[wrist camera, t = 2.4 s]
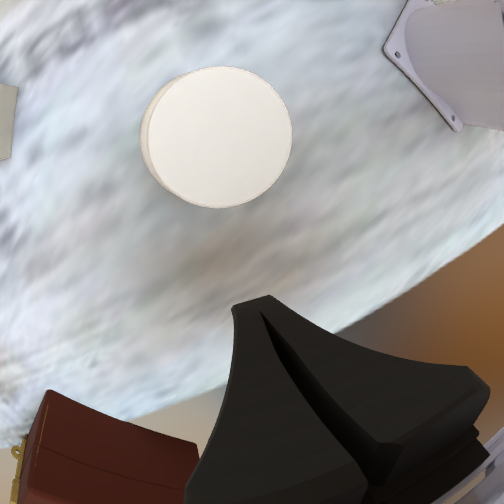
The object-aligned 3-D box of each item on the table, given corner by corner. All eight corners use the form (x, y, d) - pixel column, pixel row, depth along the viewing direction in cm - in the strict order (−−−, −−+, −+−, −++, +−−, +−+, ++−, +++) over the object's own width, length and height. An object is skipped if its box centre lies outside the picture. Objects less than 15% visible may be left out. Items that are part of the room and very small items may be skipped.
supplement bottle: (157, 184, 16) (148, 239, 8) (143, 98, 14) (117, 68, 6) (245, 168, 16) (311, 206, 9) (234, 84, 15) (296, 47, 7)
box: (34, 377, 18) (6, 481, 9) (198, 443, 25) (219, 532, 16) (8, 460, 21) (-2, 523, 12) (119, 501, 28) (125, 560, 20)
